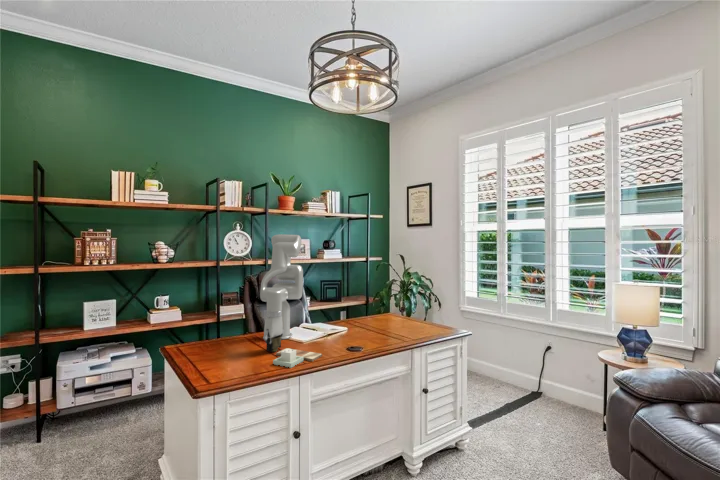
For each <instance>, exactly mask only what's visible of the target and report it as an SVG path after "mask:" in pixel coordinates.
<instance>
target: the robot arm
mask: <svg viewBox="0 0 720 480" xmlns="http://www.w3.org/2000/svg"><path fill="white" fill-rule="evenodd" d="M271 246H272V252H271V262H270V263H271V264H270V269H269V270H268V271H267V272H266V273H265V274H264V276H263V277H262V280H261V284H260V291H259V293H260V294H259V295H260V296H259V298H260V300H261V301H262V302H265V303H266V317H265V320H264V328H263V337H262V339H263V341H264V342H265V344H266V351H267V352H271V351H272V339H273V337H277V336H279V337H280V335H281V340H288V339H290V338H289V337H291V336H292V337H293V333H292V332H291V305H290V303H289V301H287V300H299V299H301V298H302V297H303V289H304V288H303V287H304V283H303V282H304V270H303V266H302V265H300V264H292V263H291V261H292V260H291V259H292V258H297V257H298V256H299V254H300V251H301V246H302V238H301V235H299V234H284V233H283V234H280V233H279V234H274V235H273V236H272V237H271ZM273 278H275V279H277V280H278V281H286V282H277V283H275V284H273V285H272V287H267V286H268V283H269V281H270V280H271V279H273ZM287 281H292V282H287ZM269 336H270V337H269ZM292 337H291V338H292ZM268 338H270V340H269V339H268ZM281 347H282V342H281V343H280V346H279V347H278V348H279V349H280V348H281ZM278 348H277V349H278Z"/></svg>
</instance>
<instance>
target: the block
mask: <svg viewBox="0 0 720 480" xmlns="http://www.w3.org/2000/svg"><path fill="white" fill-rule="evenodd" d="M285 349H286V348H285ZM292 349H293V348H290V349H286V350H284V349H283V350H284V351H282V350H280V351H281V356H280V357H281V361H285V362H290V363H291V362H293V361H295V360H296V350H297V349H296V350H292Z"/></svg>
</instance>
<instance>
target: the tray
mask: <svg viewBox="0 0 720 480" xmlns="http://www.w3.org/2000/svg"><path fill="white" fill-rule="evenodd" d="M304 361H305V360H304V357H300V356H296V360H295V361H293V362H291V363H290V362H285V361H281V356H278V357H276V358H275V359H273V360H272V364H274V366H278V365H280V366H279V367H283V366H285V367H284V368H288V367H289V368H290V369H292V368H294V367H296V366H297V364H298V365H300V364H302V363H303V362H304ZM299 363H300V364H299ZM295 365H296V366H295Z"/></svg>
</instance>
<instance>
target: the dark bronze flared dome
mask: <svg viewBox="0 0 720 480" xmlns="http://www.w3.org/2000/svg"><path fill="white" fill-rule="evenodd" d="M269 337H270V336H269ZM268 339H269V340H270V338H268ZM280 343H281V344H282V339H281V335H280V337H279V336H277V337H273V339H272V351H270V352H271V353H277V351H278V347H279V346H280Z"/></svg>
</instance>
